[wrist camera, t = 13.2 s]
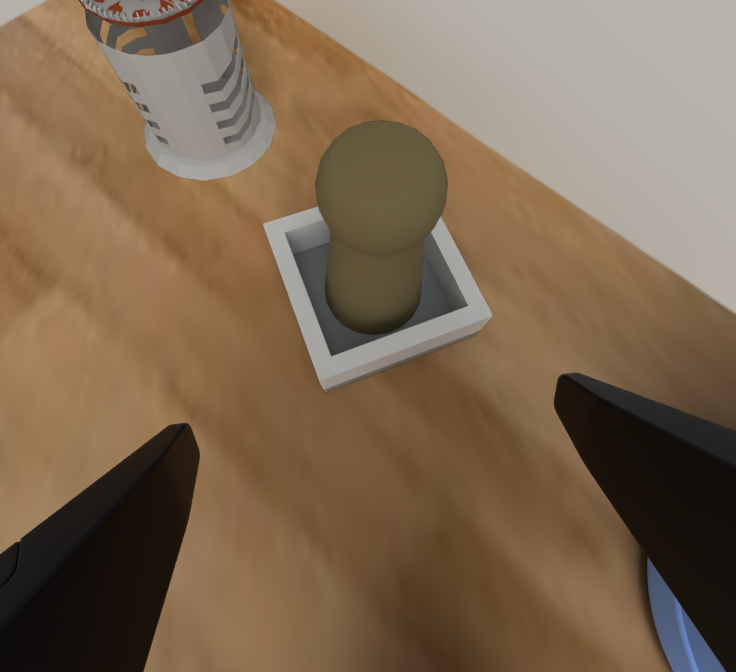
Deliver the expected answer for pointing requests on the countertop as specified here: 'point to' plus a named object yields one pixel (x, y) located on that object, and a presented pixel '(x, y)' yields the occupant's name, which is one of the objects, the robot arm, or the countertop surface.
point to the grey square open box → (363, 351)
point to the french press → (187, 85)
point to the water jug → (678, 630)
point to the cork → (378, 222)
